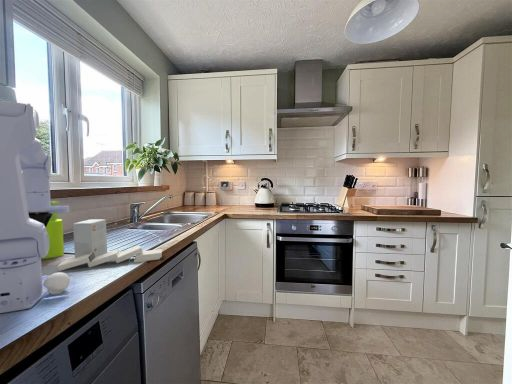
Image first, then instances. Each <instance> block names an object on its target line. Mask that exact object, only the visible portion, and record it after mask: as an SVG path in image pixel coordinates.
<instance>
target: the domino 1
mask: <svg viewBox="0 0 512 384" xmlns="http://www.w3.org/2000/svg"><path fill="white" fill-rule="evenodd" d="M94 258H95V255H94V252H93V253H90V254H87V255H83V256H80V257H76V258H75V257H73V258H70V259H66V260H63V261H62V262H60V265H59V264H57V265H58V266H57V267H58V269H59V271H61V270H65V269H68V268H71V267H75V266H78V265H81V264H84V263H88V262H91V261H92V260H93V259H94Z"/></svg>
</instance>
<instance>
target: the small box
mask: <svg viewBox="0 0 512 384" xmlns="http://www.w3.org/2000/svg"><path fill="white" fill-rule="evenodd" d="M72 227H73V230H72V231H73V247H74V258H76V257H80V256H83V255H87V254H90V253H93V252H94V255H95V257H97V256H100V255H103V254H106V253H108V239H107V238H108V237H107V219H101V218H100V219H99V218H96V219H95V218H93V219H90V218H89V219H87V220H82V221H79V222H74V223H72Z"/></svg>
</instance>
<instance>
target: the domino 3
mask: <svg viewBox="0 0 512 384" xmlns="http://www.w3.org/2000/svg"><path fill="white" fill-rule="evenodd" d="M143 251H144V250H143V249H142V247H141V245H137V246H134V247H131V248H129V249H127V250H125V251H123V252H119V256H118V258H116V259H115V260H116V262H117V263H119V262H121V261H124V260H126V259H128V258H130V257H131V258H132V257H136V255H137V254H139V253H142V252H143Z"/></svg>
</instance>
